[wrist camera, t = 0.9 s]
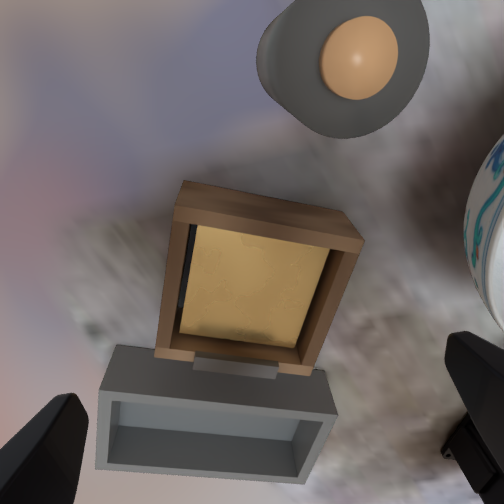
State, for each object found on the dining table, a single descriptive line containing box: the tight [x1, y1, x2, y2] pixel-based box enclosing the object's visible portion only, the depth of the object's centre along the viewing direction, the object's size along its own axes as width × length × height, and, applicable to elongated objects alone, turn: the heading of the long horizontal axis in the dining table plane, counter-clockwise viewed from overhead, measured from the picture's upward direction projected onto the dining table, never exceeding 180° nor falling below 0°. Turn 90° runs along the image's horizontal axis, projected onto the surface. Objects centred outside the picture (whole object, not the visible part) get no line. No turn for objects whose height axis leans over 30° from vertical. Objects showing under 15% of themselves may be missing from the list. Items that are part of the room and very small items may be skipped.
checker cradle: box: [154, 180, 365, 379], centre depth 21 cm, size 10×10×4 cm
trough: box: [95, 345, 338, 484], centre depth 27 cm, size 16×8×4 cm, turn 77°
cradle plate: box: [179, 225, 330, 348], centre depth 21 cm, size 7×7×1 cm
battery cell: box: [256, 0, 430, 139], centre depth 14 cm, size 4×4×9 cm
